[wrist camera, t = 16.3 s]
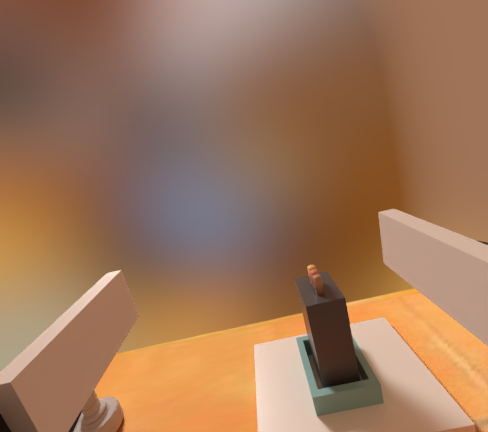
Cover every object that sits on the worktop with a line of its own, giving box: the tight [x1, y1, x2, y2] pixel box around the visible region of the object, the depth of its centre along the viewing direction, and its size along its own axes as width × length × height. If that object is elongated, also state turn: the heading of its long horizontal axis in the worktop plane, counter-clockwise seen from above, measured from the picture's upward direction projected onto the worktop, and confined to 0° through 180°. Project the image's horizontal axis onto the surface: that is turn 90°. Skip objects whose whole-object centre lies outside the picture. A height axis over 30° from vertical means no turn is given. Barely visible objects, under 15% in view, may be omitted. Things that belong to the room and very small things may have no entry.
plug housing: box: [295, 265, 360, 388], centre depth 30 cm, size 4×6×14 cm, turn 0°
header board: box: [254, 317, 475, 432], centre depth 32 cm, size 20×16×4 cm
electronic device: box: [68, 390, 123, 432], centre depth 32 cm, size 5×10×15 cm
